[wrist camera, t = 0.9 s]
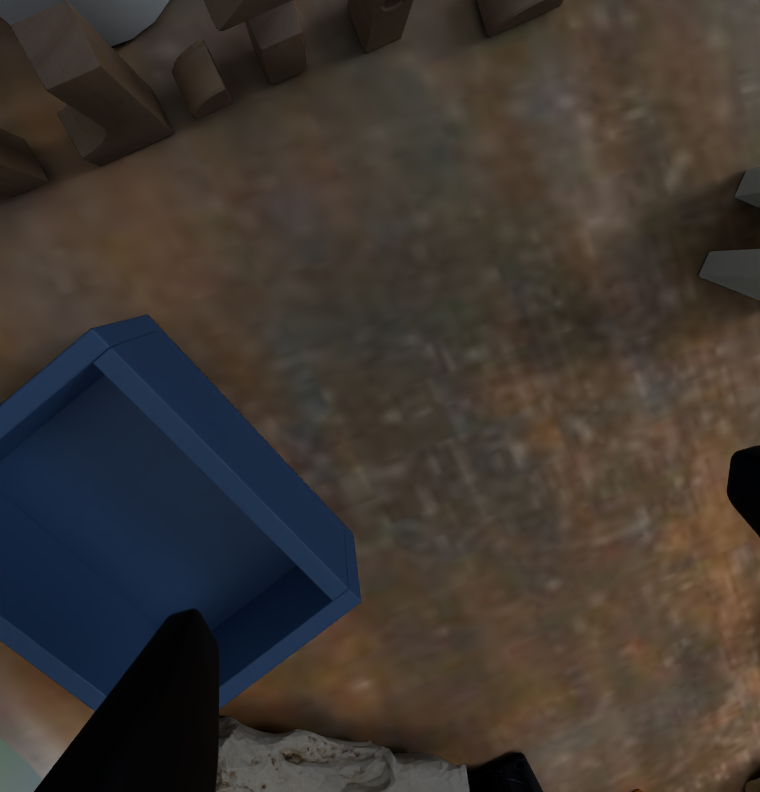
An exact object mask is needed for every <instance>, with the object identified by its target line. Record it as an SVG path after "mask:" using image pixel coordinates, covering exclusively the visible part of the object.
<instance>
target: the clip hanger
mask: <svg viewBox="0 0 760 792" xmlns="http://www.w3.org/2000/svg"><path fill="white" fill-rule="evenodd" d="M735 198H737V199H740V200H742V201H744V202H747V203H749V204H751V205H753V206H756V207H758V208H760V167H758V168H754V169H750V170H747V171H746V172H745V174H744V177H743V179H742V181H741V183H740V185H739V187H738V190H737V192H736V194H735ZM699 277H701V278H703V279H706V280H708V281H711V282H714V283H716V284H719V285H721V286H724V287H726V288H729V289H731V290H734V291H736V292H739V293H741V294H744V295H746V296H749V297H752V298H754V299H757V300H759V301H760V249H748V250H729V251H711V252H709V254H708V256H707V258H706V260H705V262H704V265H703V267H702V269H701V271H700V273H699Z"/></svg>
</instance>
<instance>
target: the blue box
mask: <svg viewBox="0 0 760 792" xmlns="http://www.w3.org/2000/svg"><path fill="white" fill-rule="evenodd" d="M360 602H361V597H360V588H359V579H358V570H357V561H356V553H355V544H354V536H353V534H352V533H351V531H350V530H349V529H348V528H347V527H346V526H345V525H344V524H343V523H342V522H341V521H340V520H339V519H338V518H337V516H336V515H335V514H334V513H333V512H332V511H331V510H330V509H329V508H328V507H327V506H326V505H325V504H324V503H323V502H322V500H321V499H320V498H319V497H318V496H317V495H316V494H315V493H314V492H313V491H312V490H311V489H310V488H309V487H308V485H307V484H306V483H305V482H304V481H303V480H302V479H301V478H300V477H299V476H298V475H297V474H296V473H295V472H294V471H293V469H292V468H291V467H290V466H289V465H288V464H287V463H286V462H285V461H284V460H283V459H282V458H281V457H280V456H279V455H278V453H277V452H276V451H275V450H274V449H273V448H272V447H271V446H270V445H269V444H268V443H267V442H266V441H265V440H264V438H263V437H262V436H261V435H260V434H259V433H258V432H257V431H256V430H255V429H254V428H253V427H252V426H251V425H250V424H249V422H248V421H247V420H246V419H245V418H244V417H243V416H242V415H241V414H240V413H239V412H238V411H237V410H236V409H235V408H234V406H233V405H232V404H231V403H230V402H229V401H228V400H227V399H226V398H225V397H224V396H223V395H222V394H221V393H220V391H219V390H218V389H217V388H216V387H215V386H214V385H213V384H212V383H211V382H210V381H209V380H208V379H207V378H206V377H205V375H204V374H203V373H202V372H201V371H200V370H199V369H198V368H197V367H196V366H195V365H194V364H193V363H192V362H191V360H190V359H189V358H188V357H187V356H186V355H185V354H184V353H183V352H182V351H181V350H180V349H179V348H178V347H177V346H176V344H175V343H174V342H173V341H172V340H171V339H170V338H169V337H168V336H167V335H166V334H165V333H164V332H163V331H162V330H161V328H160V327H159V326H158V325H157V324H156V323H155V322H154V321H153V320H152V319H151V318H150V317H149V316H148V315H143V316H140V317H136V318H132V319H128V320H124V321H120V322H116V323H112V324H108V325H104V326H100V327H95V328H92V329H89V330H88V331H87V332H86V333H85V334H84V335H82V336H81V337H80V338H79V339H78V340H76V341H75V342H74V343H73V344H72V345H71V346H69V347H68V348H67V349H66V350H65V351H63V352H62V353H61V354H60V355H59V356H58V357H56V358H55V359H54V360H53V361H52V362H50V363H49V364H48V365H47V366H46V367H45V368H43V369H42V370H41V371H40V372H39V373H37V374H36V375H35V376H34V377H33V378H32V379H30V380H29V381H28V382H27V383H26V384H24V385H23V386H22V387H21V388H20V389H19V390H17V391H16V392H15V393H14V394H13V395H11V396H10V397H9V398H8V399H7V400H6V401H4V402H3V403H2V404H1V405H0V641H1V642H3V643H4V644H5V645H7V646H8V647H9V648H11V649H12V650H13V651H15V652H16V653H17V654H19V655H20V656H22V657H23V658H24V659H26V660H27V661H28V662H30V663H31V664H32V665H34V666H35V667H36V668H38V669H39V670H40V671H42V672H43V673H44V674H46V675H47V676H48V677H50V678H51V679H52V680H54V681H55V682H56V683H58V684H59V685H61V686H62V687H63V688H65V689H66V690H67V691H69V692H70V693H71V694H73V695H74V696H75V697H77V698H78V699H79V700H81V701H82V702H83V703H85V704H86V705H87V706H89V707H90V708H91V709H93V710H94V711H96V710H97V709H98V707H99V706H100V705H101V703H102V702H103V701H104V699H105V698H106V697H107V695H108V694H109V693H110V692H111V690H112V689H113V688H114V686H115V685H116V684H117V682H118V681H119V680H120V678H121V677H122V676H123V675H124V673H125V672H126V671H127V669H128V668H129V667H130V665H131V664H132V663H133V661H134V660H135V659H136V657H137V656H138V655H139V654H140V652H141V651H142V650H143V648H144V647H145V646H146V644H147V643H148V642H149V640H150V639H151V638H152V637H153V635H154V634H155V633H156V631H157V630H158V629H159V627H160V626H161V625H162V623H163V622H164V621H165V620H166V619H167V618H168V617H169V616H170V615H172V614H174V613H177V612H181V611H184V610H188V609H191V608H195V609H197V610H199V611H200V613H201V614H202V616H203V617H204V619H205V621H206V623H207V624H208V626H209V628H210V630H211V631H212V633H213V635H214V637H215V638H216V640H217V643H218V647H219V654H220V668H219V709H220V708H221V707H223V706H224V705H225V704H227V703H228V702H229V701H231V700H232V699H233V698H235V697H236V696H237V695H239V694H240V693H241V692H243V691H244V690H245V689H247V688H248V687H249V686H251V685H252V684H253V683H255V682H256V681H257V680H259V679H260V678H261V677H263V676H264V675H265V674H267V673H268V672H269V671H270V670H272V669H273V668H274V667H276V666H277V665H278V664H280V663H281V662H282V661H284V660H285V659H286V658H288V657H289V656H290V655H292V654H293V653H294V652H296V651H297V650H298V649H300V648H301V647H302V646H304V645H305V644H306V643H308V642H309V641H310V640H312V639H313V638H314V637H316V636H317V635H318V634H320V633H321V632H322V631H323V630H325V629H326V628H327V627H329V626H330V625H331V624H333V623H334V622H335V621H337V620H338V619H339V618H341V617H342V616H343V615H345V614H346V613H347V612H349V611H350V610H351V609H353V608H354V607H355V606H357V605H358V604H359V603H360Z"/></svg>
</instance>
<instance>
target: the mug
mask: <svg viewBox="0 0 760 792" xmlns="http://www.w3.org/2000/svg"><path fill="white" fill-rule="evenodd" d="M64 1H68V2H69V3H70V4H71V5H72V6H73V7H74V8H75V9H76V10H77V11H78V12H79V13H80V14H81V16H82V17H83V18H84V19H85V20H86V21H87V22H88V23H89V24H90V25H91V26H92V27H93V28H94V29H95V30H96V31H97V32H98V34H99V35H100V36H101V37H102V38H103V39H104V40H105V41H106V42H107V43H108V44H109V45H110V46H114V45H117V44H120V43H123V42H125V41H128V40H131V39H133V38H135V37H136V36H137V35H138V34H140V33H141V32H142V31H144V30H145V29H146V28H148V27H149V26H150V25H151V24H153V23H154V22H155V21H156V20H157V18H158V17H159V15H160V14H161V12H162V11H163V10H164V8H165V7H166V5H167V4H168V2H169V1H170V0H0V17H1V18H2V19H3V20H5V21H6V22H7V23H9V24H10V25H12V24H14V23H16V22H18V21H21V20H23V19H25V18H28V17H30V16H32V15H34V14H37V13H39V12H41V11H43V10H46V9H48V8H50V7H53V6H55V5H57V4H59V3H62V2H64Z"/></svg>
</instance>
